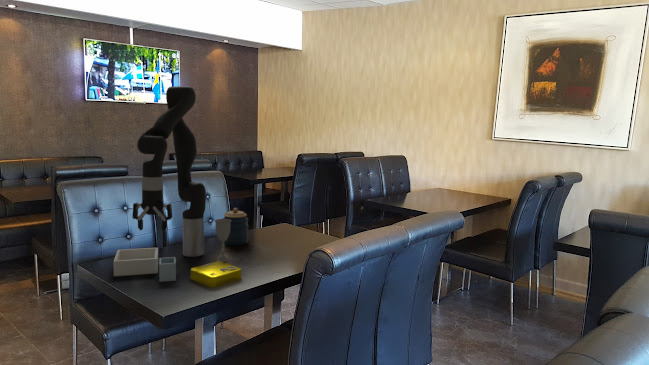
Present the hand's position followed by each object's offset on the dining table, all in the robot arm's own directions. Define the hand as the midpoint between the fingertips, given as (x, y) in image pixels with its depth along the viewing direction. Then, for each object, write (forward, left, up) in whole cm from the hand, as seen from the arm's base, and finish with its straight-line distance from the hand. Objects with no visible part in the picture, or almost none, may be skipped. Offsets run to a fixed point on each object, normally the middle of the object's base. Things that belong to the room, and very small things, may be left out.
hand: (152, 230), depth 180 cm
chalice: (-28, -16, -19) cm, 38 cm away
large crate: (+7, -13, -19) cm, 24 cm away
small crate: (-5, +1, -19) cm, 20 cm away
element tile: (-23, +6, -20) cm, 31 cm away
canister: (-37, -44, -19) cm, 61 cm away
